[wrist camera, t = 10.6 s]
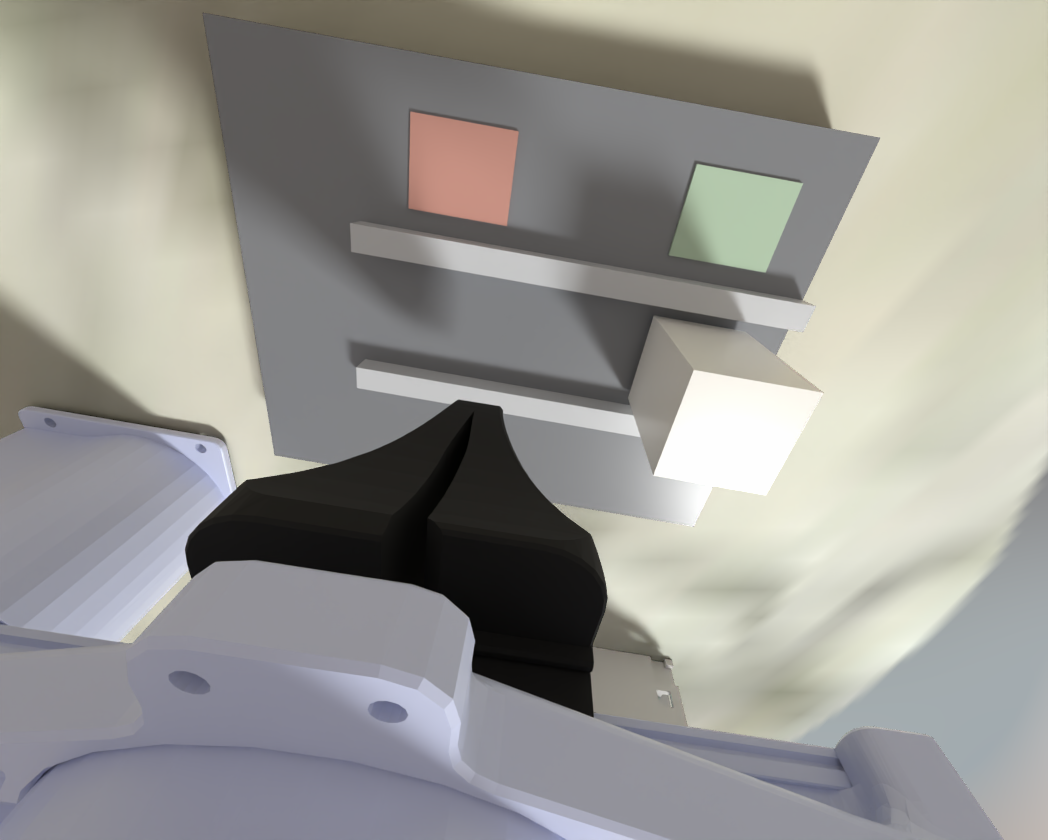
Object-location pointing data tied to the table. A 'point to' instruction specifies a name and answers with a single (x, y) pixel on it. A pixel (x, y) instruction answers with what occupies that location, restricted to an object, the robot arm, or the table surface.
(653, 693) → the circuit breaker
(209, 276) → the table surface
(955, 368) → the table surface
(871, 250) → the table surface
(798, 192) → the panel
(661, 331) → the handle
